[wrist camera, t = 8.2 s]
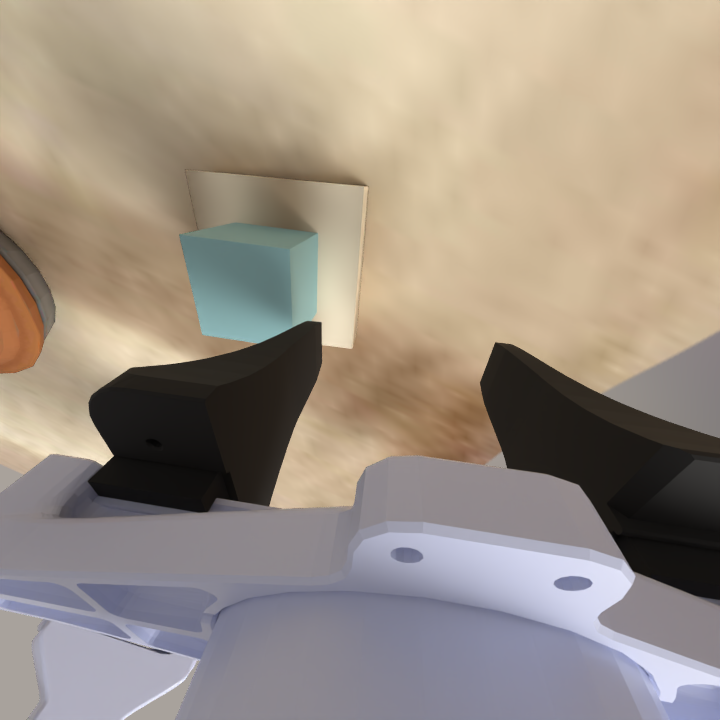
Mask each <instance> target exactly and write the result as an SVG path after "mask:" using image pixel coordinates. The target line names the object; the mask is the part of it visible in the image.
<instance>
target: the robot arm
mask: <svg viewBox="0 0 720 720" xmlns="http://www.w3.org/2000/svg"><path fill="white" fill-rule="evenodd" d="M321 364H322V322H315V321H305V322H303V323H301V324H298V325H296V326H294V327H292V328H290V329H288V330H286V331H284V332H282V333H280V334H278V335H276V336H274V337H272V338H270V339H267V340H265V341H263V342H260V343H258V344H256V345H253V346H250V347H247V348H244V349H241V350H238V351H235V352H231V353H227V354H223V355H219V356H215V357H211V358H206V359H201V360H196V361H190V362H183V363H176V364H168V365H158V366H147V367H134V368H130V369H128V370H127V371H126V372H124V373H123V374H121V375H120V376H118V377H117V378H115V379H114V380H112V381H111V382H109V383H108V384H106V385H105V386H103V387H102V388H101V389H99V390H98V391H96V392H95V393H94V394H93V395H92V396H91V398H90V401H89V412H90V417H91V419H92V421H93V423H94V425H95V427H96V428H97V430H98V431H99V433H100V435H101V436H102V438H103V439H104V441H105V442H106V444H107V446H108V447H109V449H110V450H111V452H112V454H113V455H114V457H113V458H111V459H110V460H109V461H108V462H107V463H106V464H105V465H104V466H102V465H101V464H99V463H97V462H96V461H93V460H90V459H84V458H78V457H71V456H65V455H59V454H51V455H49V456H48V457H47V458H45V459H44V460H43V461H41V462H40V463H39V464H38V465H36V466H35V467H34V468H32V469H31V470H30V471H28V472H27V473H26V474H24V475H23V476H22V477H21V478H19V479H18V480H17V481H15V482H14V483H13V484H12V485H10V486H9V487H8V488H6V489H5V490H4V491H2V492H1V493H0V610H5V611H10V612H15V613H19V614H24V615H28V616H33V617H38V618H42V619H43V620H42V621H41V623H40V624H39V625H38V631H39V633H38V634H37V635H36V636H35V638H34V639H33V641H32V654H33V660H34V665H35V670H36V677H37V682H38V687H39V699H40V700H39V703H38V704H37V706H36V707H35V709H34V710H33V711H32V713H31V714H30V716H29V717H28V719H27V720H124V719H125V718H126V717H128V716H129V715H131V714H132V713H133V712H135V711H137V710H138V709H140V708H142V707H143V706H145V705H147V704H149V703H150V702H152V701H154V700H155V699H157V698H158V697H160V696H162V695H164V694H165V693H167V692H169V691H170V690H172V689H173V688H175V687H176V686H178V685H179V684H180V683H182V682H183V681H184V680H185V679H186V678H187V676H188V674H189V672H190V671H191V670H192V669H193V668H194V666H195V664H196V662H197V660H199V661H200V662H199V664H198V666H197V669H196V671H195V674H194V676H193V678H192V681H191V683H190V685H189V688H188V690H187V693H186V695H185V697H184V700H183V702H182V704H181V707H180V709H179V712H178V714H177V716H176V719H175V720H720V438H717V437H713V436H710V435H707V434H704V433H700V432H698V431H694V430H692V429H688V428H686V427H683V426H679V425H677V424H674V423H671V422H668V421H665V420H662V419H659V418H657V417H654V416H651V415H649V414H647V413H644V412H641V411H639V410H636V409H634V408H631V407H629V406H626V405H624V404H621V403H620V402H617V401H615V400H613V399H610V398H608V397H606V396H604V395H602V394H600V393H598V392H596V391H594V390H592V389H590V388H588V387H586V386H584V385H582V384H580V383H578V382H576V381H574V380H573V379H571V378H569V377H567V376H565V375H564V374H562V373H560V372H559V371H557V370H555V369H554V368H552V367H550V366H549V365H547V364H545V363H544V362H542V361H540V360H539V359H537V358H535V357H534V356H532V355H531V354H529V353H527V352H525V351H524V350H522V349H520V348H518V347H516V346H514V345H512V344H505V343H496V342H495V345H494V347H493V350H492V353H491V355H490V358H489V361H488V363H487V366H486V368H485V371H484V374H483V376H482V379H481V382H480V385H481V391H482V396H483V400H484V404H485V407H486V409H487V412H488V415H489V418H490V420H491V423H492V425H493V428H494V430H495V433H496V436H497V438H498V441H499V443H500V446H501V449H502V452H503V455H504V458H505V461H506V465H507V468H501V467H493V466H487V465H480V464H473V463H466V462H459V461H453V460H446V459H439V458H432V457H425V456H418V455H414V456H390V457H388V458H386V459H384V460H381V461H379V462H377V463H375V464H372V465H370V466H368V467H366V469H365V470H364V472H363V474H362V475H361V477H360V479H359V481H358V482H357V488H356V495H355V502H354V505H353V506H339V507H316V508H293V509H281V508H275V507H269V505H270V501H271V497H272V494H273V491H274V488H275V484H276V481H277V478H278V474H279V471H280V468H281V465H282V462H283V459H284V456H285V453H286V450H287V447H288V444H289V441H290V438H291V435H292V433H293V430H294V427H295V425H296V422H297V420H298V418H299V416H300V414H301V412H302V410H303V408H304V406H305V404H306V401H307V399H308V397H309V395H310V393H311V391H312V389H313V387H314V385H315V383H316V380H317V377H318V374H319V371H320V368H321ZM122 639H123V640H122ZM125 640H126V641H125ZM128 641H130V642H134V643H137V644H141V645H144V646H148V647H152V648H155V649H151V648H150V649H149V648H146V647H142V646H139V645H137V644H134V643H130V642H128Z"/></svg>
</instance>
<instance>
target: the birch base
mask: <svg viewBox="0 0 720 720" xmlns="http://www.w3.org/2000/svg"><path fill="white" fill-rule="evenodd" d="M185 173H186V177H187V182H188V187H189V191H190V196H191V201H192V205H193V210H194V214H195V219H196V224H197V228H198V230H202V229H207V228H212V227H216V226H221V225H226V224H230V223H235V222H237V223H244V224H252V225H260V226H268V227H275V228H283V229H291V230H299V231H306V232H314V233H318V274H317V313H316V315H315V316H314V318H313V319H312V321H315V322H322V345H327V346H334V347H342V348H350V349H352V348H353V344H354V341H355V338H356V334H357V324H358V311H359V299H360V287H361V274H362V262H363V249H364V237H365V225H366V212H367V200H368V188H369V187H368V186H357V185H347V184H336V183H326V182H315V181H304V180H294V179H283V178H272V177H262V176H251V175H240V174H230V173H219V172H208V171H196V170H185Z"/></svg>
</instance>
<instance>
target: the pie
mask: <svg viewBox="0 0 720 720" xmlns="http://www.w3.org/2000/svg"><path fill="white" fill-rule="evenodd" d="M54 322H55V304H54V301H53V298H52V294H51V291H50V289H49V287H48V285H47V284H46V282H45V280H44V279H43V277H42V275H41V273H40V272H39V270H38V269H37V268H36V267H35V265H34V264H33V263H32V262H31V260H30V259H29V258H28V257H27V256H26V254H25V253H24V252H23V251H22V250H21V249H20V248H19V247H18V246H17V245H16V244H15V243H14V242H12V241H11V240H10V239H9V238H8V237H7V236H6V235H5V234H4V233H3V232H1V231H0V373H16V372H19V371H22V370H24V369H27V368H30V367H32V366H33V365H34V364H35V362H36V360H37V358H38V357H39V355H40V353H41V350H42V347H43V344H44V340H45V338H46V336H47V334H48V333H49V331H50V329H51V327H52V325H53V324H54Z"/></svg>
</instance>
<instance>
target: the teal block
mask: <svg viewBox="0 0 720 720" xmlns="http://www.w3.org/2000/svg"><path fill="white" fill-rule="evenodd" d="M179 236H180V241H181V245H182V249H183V253H184V258H185V262H186V266H187V271H188V275H189V279H190V283H191V288H192V292H193V296H194V301H195V305H196V309H197V313H198V318H199V322H200V326H201V331H202V335H206V336H213V337H220V338H226V339H233V340H240V341H246V342H253V343H260V342H263V341H265V340H267V339H270V338H272V337H274V336H276V335H278V334H280V333H282V332H284V331H286V330H288V329H290V328H292V327H294V326H296V325H298V324H301V323H303V322H305V321H312V319H313V318H314V316H315V315H316V313H317V274H318V233H314V232H306V231H299V230H291V229H283V228H275V227H268V226H260V225H252V224H244V223H237V222H235V223H230V224H226V225H221V226H216V227H212V228H207V229H202V230H198V231H193V232H188V233H184V234H179Z"/></svg>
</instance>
